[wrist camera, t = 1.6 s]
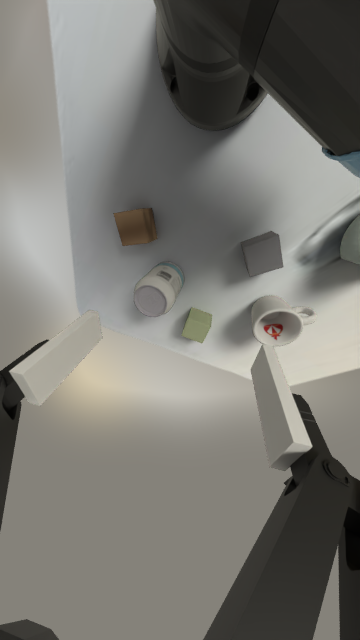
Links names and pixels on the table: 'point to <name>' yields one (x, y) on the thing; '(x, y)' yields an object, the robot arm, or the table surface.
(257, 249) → the charcoal block
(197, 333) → the olive block
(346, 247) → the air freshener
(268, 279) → the table surface
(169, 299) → the beverage can
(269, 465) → the robot arm
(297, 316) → the cup
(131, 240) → the walnut block
